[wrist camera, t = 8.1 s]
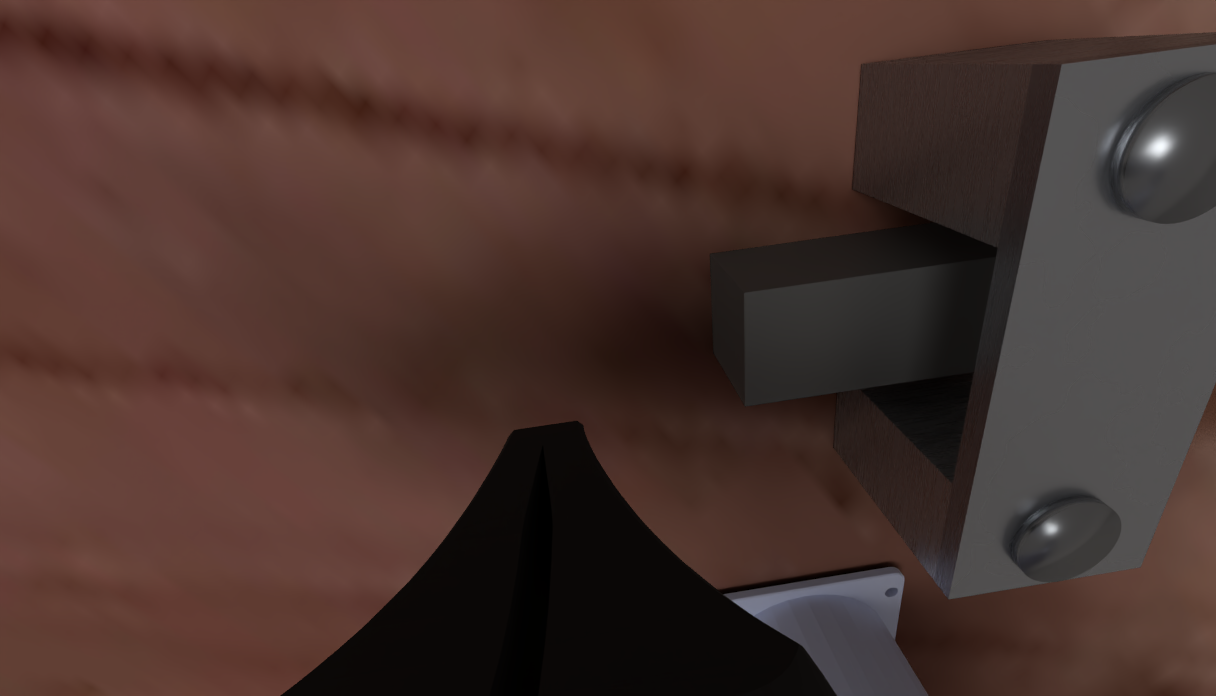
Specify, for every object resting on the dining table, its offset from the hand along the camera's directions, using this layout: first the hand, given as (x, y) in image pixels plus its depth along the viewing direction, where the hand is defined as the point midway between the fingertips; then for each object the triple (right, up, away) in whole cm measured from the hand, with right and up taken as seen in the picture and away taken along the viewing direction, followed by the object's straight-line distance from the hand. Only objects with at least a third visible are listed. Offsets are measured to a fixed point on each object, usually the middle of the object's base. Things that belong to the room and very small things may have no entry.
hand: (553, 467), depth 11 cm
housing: (+11, +5, +6) cm, 13 cm away
